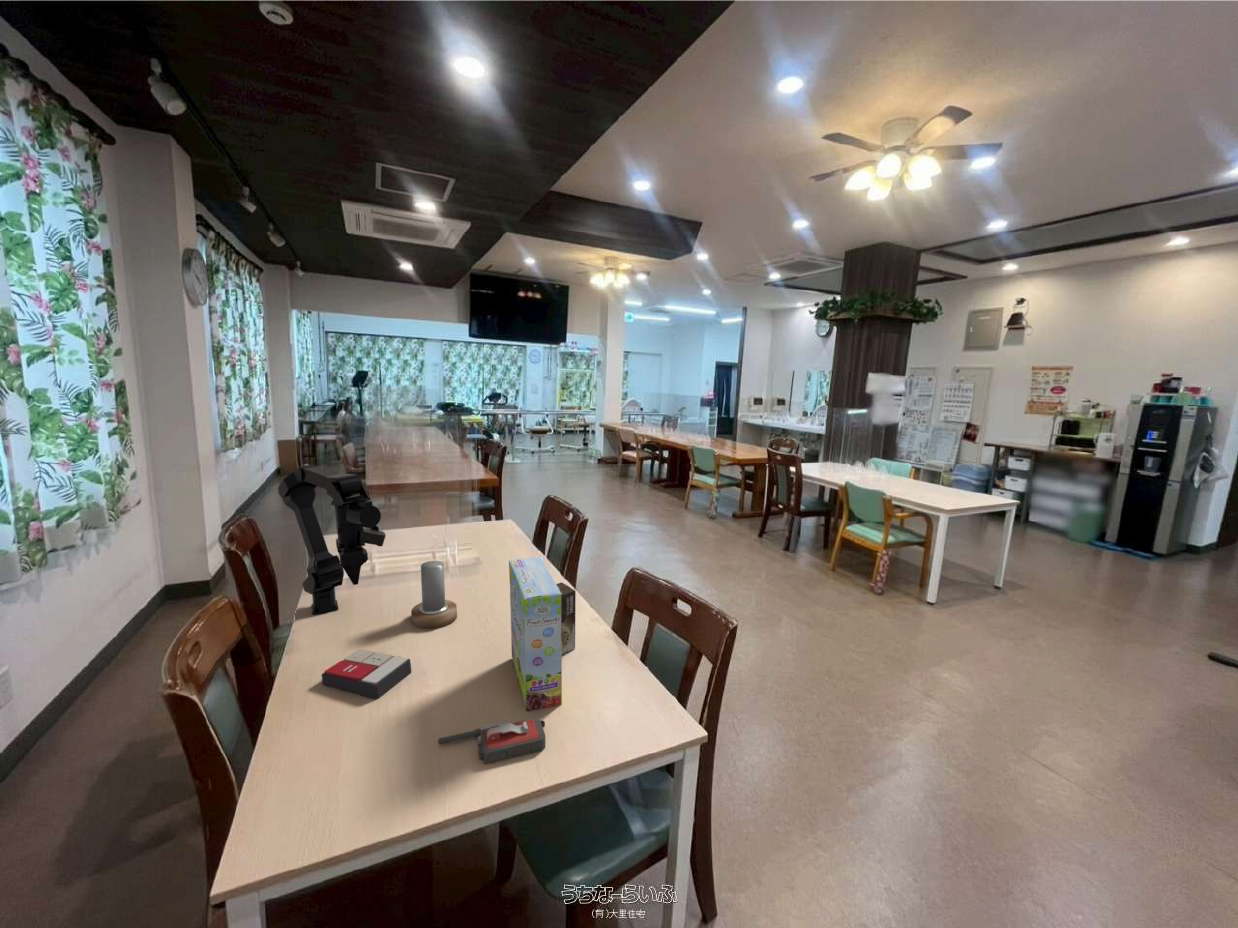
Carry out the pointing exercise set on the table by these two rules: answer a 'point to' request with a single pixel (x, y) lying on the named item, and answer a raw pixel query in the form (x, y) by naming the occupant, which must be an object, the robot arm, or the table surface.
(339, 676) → the calculator
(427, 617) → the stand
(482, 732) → the walkie-talkie
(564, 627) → the coffee box
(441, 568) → the grey cylinder
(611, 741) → the table surface
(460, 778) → the table surface
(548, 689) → the snack box
